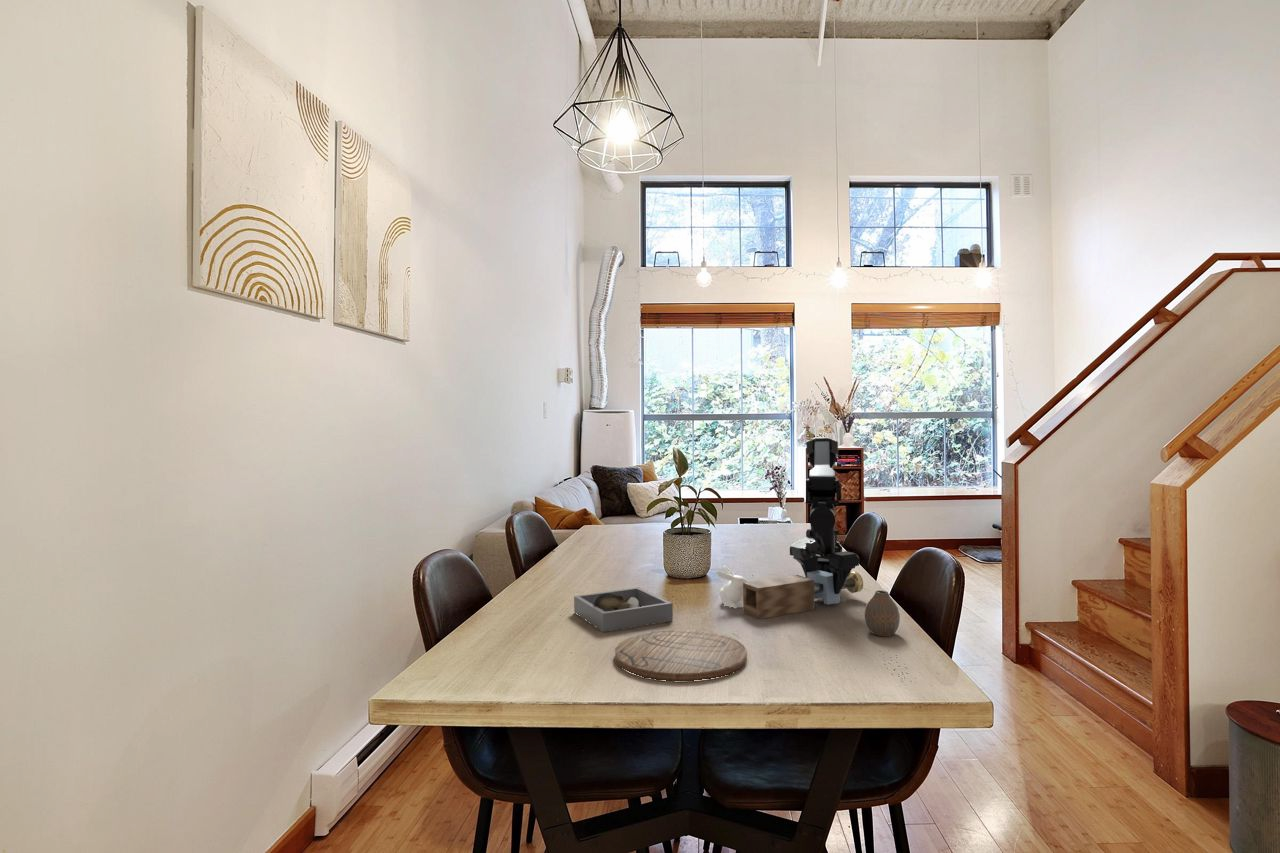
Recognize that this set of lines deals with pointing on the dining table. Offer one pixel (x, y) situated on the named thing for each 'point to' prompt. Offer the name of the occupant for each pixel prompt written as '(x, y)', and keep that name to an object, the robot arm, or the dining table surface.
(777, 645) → the dining table surface
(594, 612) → the tray rim
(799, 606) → the block
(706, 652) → the trivet
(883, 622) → the vase
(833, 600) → the spacer
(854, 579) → the shaft
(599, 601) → the eagle figurine
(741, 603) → the rabbit figurine
